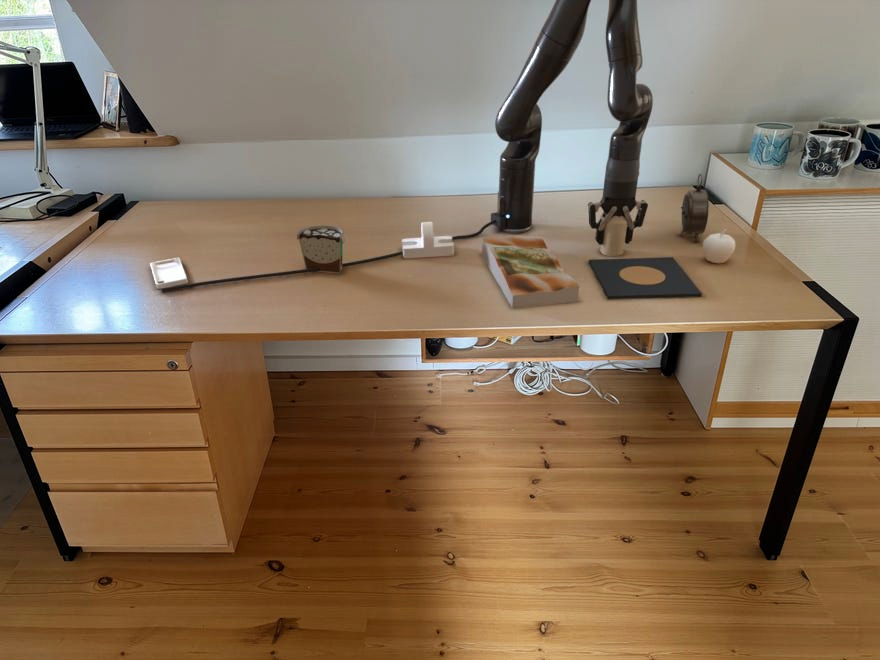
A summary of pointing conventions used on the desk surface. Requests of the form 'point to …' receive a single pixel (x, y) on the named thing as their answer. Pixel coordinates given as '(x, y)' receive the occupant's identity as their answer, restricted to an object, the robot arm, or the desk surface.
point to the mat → (643, 278)
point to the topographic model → (528, 271)
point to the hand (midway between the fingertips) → (613, 243)
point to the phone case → (169, 273)
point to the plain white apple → (718, 247)
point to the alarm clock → (695, 211)
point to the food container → (322, 248)
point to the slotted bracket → (427, 244)
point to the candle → (614, 236)
